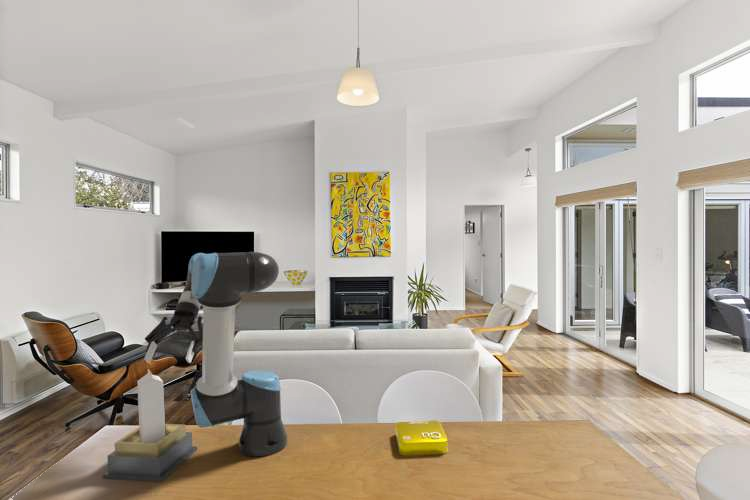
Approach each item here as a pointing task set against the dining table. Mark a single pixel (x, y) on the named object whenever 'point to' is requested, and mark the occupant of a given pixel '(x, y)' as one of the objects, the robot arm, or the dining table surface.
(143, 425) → the milk
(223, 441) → the dining table surface
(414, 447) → the element tile
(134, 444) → the grey tan square box
